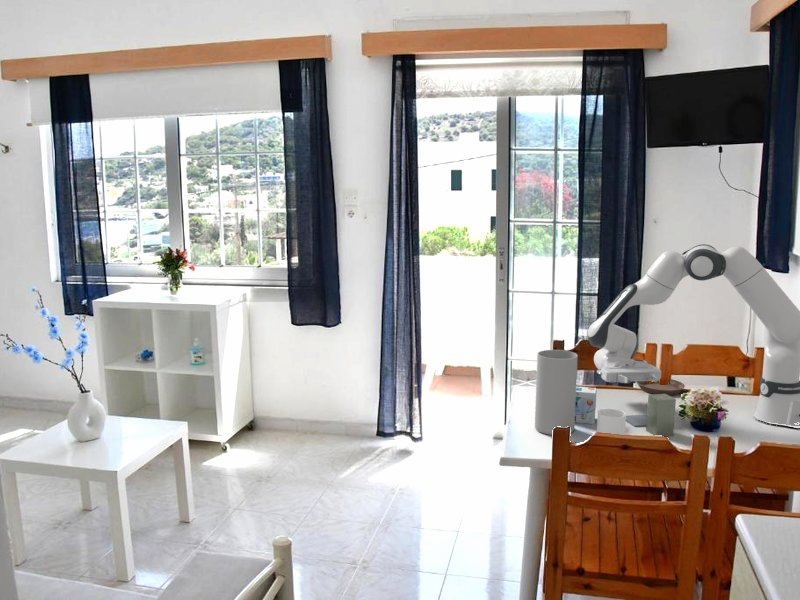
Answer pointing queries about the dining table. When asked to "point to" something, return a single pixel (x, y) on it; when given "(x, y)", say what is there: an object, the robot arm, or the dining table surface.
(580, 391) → the light bulb box
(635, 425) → the slate mat
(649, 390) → the plant saucer
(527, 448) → the dining table surface
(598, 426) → the cup
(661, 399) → the sage green pillar
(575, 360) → the cylinder vase
